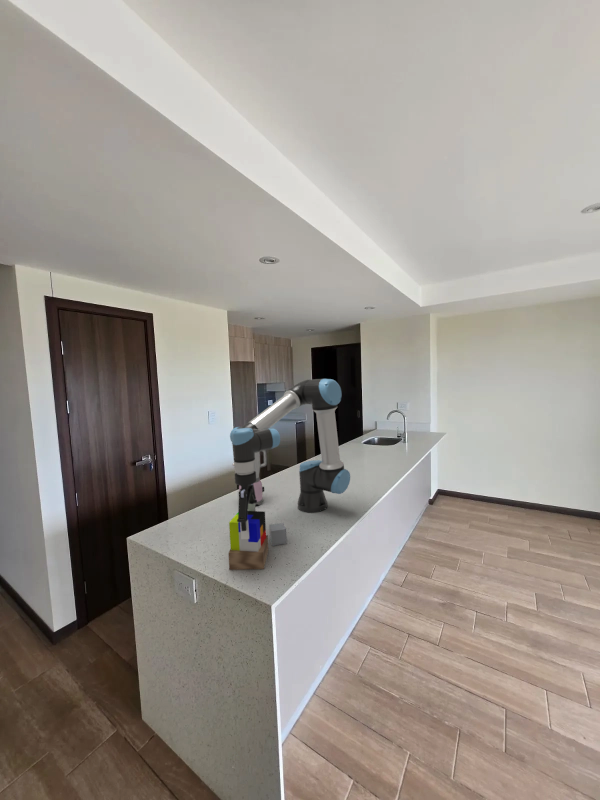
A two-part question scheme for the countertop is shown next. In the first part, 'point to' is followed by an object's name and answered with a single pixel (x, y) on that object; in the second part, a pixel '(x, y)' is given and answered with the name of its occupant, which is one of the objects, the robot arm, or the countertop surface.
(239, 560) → the walnut block
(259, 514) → the puzzle toy
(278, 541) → the slate block
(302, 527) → the countertop surface
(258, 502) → the blender
